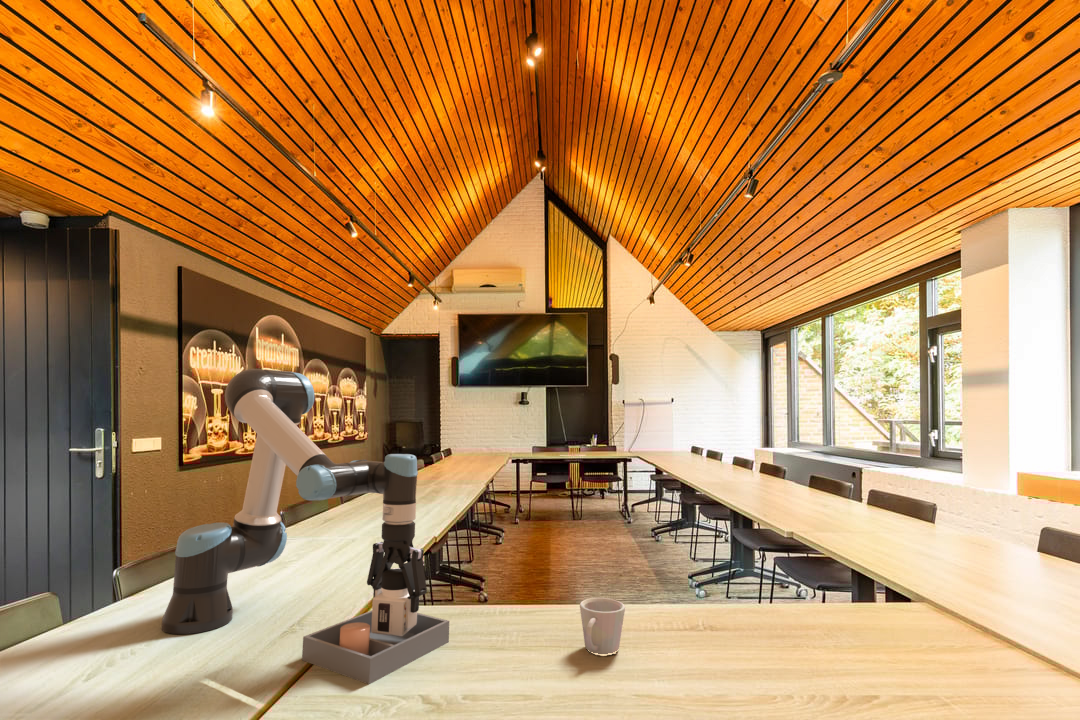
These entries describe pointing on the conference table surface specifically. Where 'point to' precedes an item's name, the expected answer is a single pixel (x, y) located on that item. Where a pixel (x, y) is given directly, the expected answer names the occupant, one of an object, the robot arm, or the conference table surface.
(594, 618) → the mug
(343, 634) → the peach cylinder
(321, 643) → the tray
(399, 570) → the container
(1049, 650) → the conference table surface
